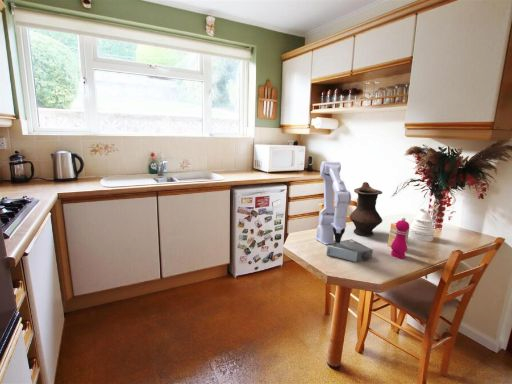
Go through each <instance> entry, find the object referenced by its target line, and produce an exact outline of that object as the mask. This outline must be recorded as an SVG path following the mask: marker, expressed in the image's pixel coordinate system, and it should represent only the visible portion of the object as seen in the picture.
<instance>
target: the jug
mask: <svg viewBox="0 0 512 384" xmlns="http://www.w3.org/2000/svg"><path fill="white" fill-rule="evenodd" d="M353 192H354V193H355V194H357V206H356V207H355V209H354V210H353V211H352V212H351V213H350V214H349V216H348V217H349V220H351V222H352V224H353V225H354V226H355V229H353V233H354V234H355V235H357V236H363V237H370V236H373V235H374V231H373V230H374V229H375V228H377V227H378V226H379V225H380V224H382V223H383V219H382V217H381V215H380V214H379V212H378V211H377V209H376V206H377V199H378V197H379V195H382V194H383V191H382V190H379V189H375V188H373V187H372V186H370V184H369V182H367V181H365V182H363V183H362V185H361V186H360V187H357V188H354V189H353Z"/></svg>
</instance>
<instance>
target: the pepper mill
mask: <svg viewBox="0 0 512 384" xmlns="http://www.w3.org/2000/svg"><path fill="white" fill-rule="evenodd" d="M395 223H396V228H397V229H396V233H397V234H396V238H395V240H394V241H393V242H392V245H391V247H390V249H391V253H390V255H391V256H392V257H394V258H395V259H405V257H406V252H407V251H408V243H407V244H406V240H405V237H406V234H407V230H408V229H409V230H410V223H409V222H408V221H406V217H402V218H401V220H398V221H397V222H395Z"/></svg>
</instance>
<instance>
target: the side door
mask: <svg viewBox="0 0 512 384" xmlns="http://www.w3.org/2000/svg"><path fill="white" fill-rule="evenodd" d="M357 253H358V252H355V251H351V250H346V249H342V248H338V247H336V246H333V245H330V244H327V248H326V255H327V256H330V257H335V258H340V259H343V260H348V261H351V262H358V261H357Z"/></svg>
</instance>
